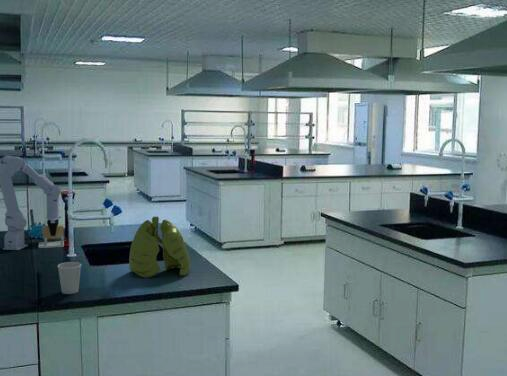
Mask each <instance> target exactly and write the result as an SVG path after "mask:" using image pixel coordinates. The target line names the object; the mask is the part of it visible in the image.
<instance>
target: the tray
mask: <svg viewBox="0 0 507 376" xmlns="http://www.w3.org/2000/svg"><path fill="white" fill-rule="evenodd" d="M64 241H65V240H64V238H63V235H61V238H60V240H58V241H48V239H47V236H44V239H43V241H39V242H38V248H37V249H49V248H51V249H52V248H65V247H64Z"/></svg>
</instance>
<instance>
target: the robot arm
mask: <svg viewBox="0 0 507 376" xmlns="http://www.w3.org/2000/svg"><path fill="white" fill-rule="evenodd" d="M18 171H22V172H23V173H25V174H26V175H27V176H29V177H30V178H31V179H33V181H34V184H35V185H36V186H37V187H39V189H41V190H42V191H43V194H45V195H46V196H45V198H46V219H47V220H46V225H47V226H49V229H50V234H51V236H55V235H56V229H57V226H58V225H60V224H59V223H60V222H59V219H61V218H62V216H60V215H59V214H60V213H59V209H60V206H59V205H60V203H59V202H60V201H59V199H60V195H61V192H62V190H61V189H60V187H59V186H58V185H56V184H54V181H52V180H50V179H48V178H47V177H48V176H47V175H46V174H39V173H38V172H37V171H36V170H35V169H33V167H31V166H30V165H29V164H28V163H27V162H26V161H25V160H24V159H23V158H22V157H20V156H11V155H4V156H3V157H2V159H0V189H1V190H0V191H1V194H2V197H3V201H4V205H5V206H4V207H5V209H6V212H5V214H4V216H5V218H4V224H5V226H6V227H7V232H6V233H5V234H4V237H3V239H4V241H3V242H4V245H3V246H4V247H3V248H2V250H5V251H7V250H8V251H20V250H22V249H24V248H26V247H28V246H29V244H25V228H26V226H27V219H26V218H25V216H24V215H23V212H22V211H21V210H20V207H19V204H18V200H17V196H16V192H15V189H14V184H13V179H12V177H13V176H14V174H16V173H18Z"/></svg>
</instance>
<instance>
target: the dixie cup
mask: <svg viewBox="0 0 507 376" xmlns="http://www.w3.org/2000/svg"><path fill="white" fill-rule="evenodd" d="M57 268H58V269H57V270H58V276H59V282H60V288H61V293H62V294H63V295H65V294H66V295H72V294H76V293H79V288H80V287H79V286H80V280H81V279H80V278H81V269H82V263H81V262H78V261H77V262H76V261H68V262H67V261H66V262H62V263H59V264H58V265H57Z"/></svg>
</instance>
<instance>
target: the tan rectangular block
mask: <svg viewBox="0 0 507 376" xmlns="http://www.w3.org/2000/svg"><path fill="white" fill-rule="evenodd" d="M61 235H63V239H65V238H64V224H58V226H57V229H56V235H55V236H51V234H50V229H49V226H48V225H45V226H42V239H43V240H44V236H47V240H51V239H52V240H53V239H61Z"/></svg>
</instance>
